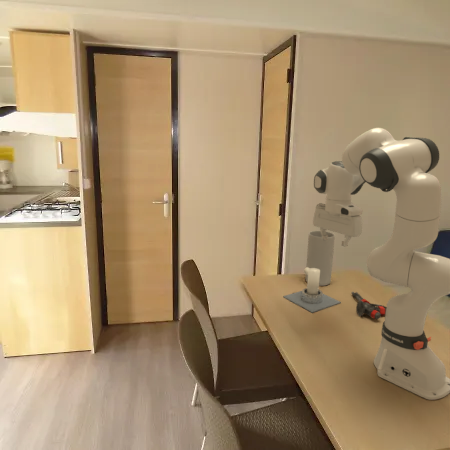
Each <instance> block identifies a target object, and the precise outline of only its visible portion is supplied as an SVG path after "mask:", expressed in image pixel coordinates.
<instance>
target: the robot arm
mask: <svg viewBox="0 0 450 450" xmlns="http://www.w3.org/2000/svg"><path fill="white" fill-rule="evenodd" d="M439 160H440V151H439V148H438V146H437V144H436V143H435V141H433V140H432V139H430V138H426V137H410V136H409V137H407V136H405V137H403V138H402V139H400V140H396V139H395V138H394V136H393V135H392V134H391V133H390V132H389V131H388V130H387V129H385V128H382V127H374V128H371V129H369V130H367V131H365V132H363V133H362V134H360V135H358V136H357V137H355V138H354V139H353V140H352V141H351V142H350V143H348V145H346V147H345V148H344V150H343V152H342V155H341V161H340V160H338V161H337V160H336V161H333V162H331V163H330V164H329V166H328V167H326V168H323V169H320V170H318V171H317V172H316V174H315V175H314V178H313V188H314V189H315V191H316V192H317V193H319V194H321V195H326V198H325V203H322V202H320V203H317V204H316V205H315V211H314V214H313V220H312V225H313V227H316V228H319V231H320V232H321V234H322V240H328V235H326V232H327V231H329V232H332V233H333V232H334V233H337V234H341V235H344V238H345V239H344V240H342V241H341V246H342V247H345V248H346V247H348V245H349V241H350V240H351V239H352V238H357V237H360V236H361V235H362V232H363V218H362V216H361V215H362V214H363V209H362V208H361V207H359V206H357V204H355V203H353V202H352V195H354V196H355V195H357V194H358V193H359V192H360V191H361V189H362V188H363V186H364V184H365V183H367V184H368V185H369V186H371V187H373V188H376V189H380V190H381V191H382V192H384V193H388V192H391V191H392V190H393V191H394V193H395V195H396V204H395V213H394V214H395V217H394V225H393V230H392V234H391V236H390V237H389V238H388V240H387V241H386V242H384V243H383V244H382V245H379V246H376V247H375V248H374V249H372V250H371V251H370V253H369V254H368V256H367V258H366V268H367V272H368V273H369V275H370V276H371V277H373V278H375V279H378V280H379V281H382V282H385V283H388V284H393V285H398V286H402V287H405V288H409V289H411V291H410V292H406V293H402V294H401V293H400V294H396V295H395V296H392V297H390V299H389V300H388V301H387V303H386V306H385V307H386V315H384V321H383V322H382V327H381V340H380V344H379V347H378V350H377V353H376V355H375V357H374V359H373V364H374V366H375V368H376V370H377V376H378V377H379V378H382V379H384V380H386V381H388V382H390V383H391V384H394V385H396V386H398V387H400V388H402V389H405V390H406V391H408V392H410V393H413V394H415V395H417V396H419V397H421V398H424V399H426V400H430V401H431V400H432V401H434V400H440V399H443V398H444V397H446V396H448V395H449V394H450V378H449V377H448V376H447V374H446V365H445V363H444V361H442V360H441V359H440V358H439V356H438V355H436V353H435V352H434V351H433V349H432V348H431V347H430V346H429V344H428V342H431V340H432V336H429V337H426V332H425V329H424V328H425V323H426V320H427V315H428V313H429V310H430V308H432V306H433V304H434V303H435V302H437V301H438V300H439V299H441V298H442V297H446V296H448V295H450V258H448V257H445V256H442V255H439V254H432V253H426V252H421V251H416V250H419V249H423V248H426V247H428V246H430V245H431V244H433V243H434V242H435V241H436V240H437V238H438V235H439V230H440V229H439V227H440V220H441V219H440V218H441V213H442V212H441V211H442V189H441V183H440V180H439V179H438V178H437V176H435V175H433V174H432V173H430V172H431V171H433V170H434V169H435V168H436V167H437V166H438V164H439Z"/></svg>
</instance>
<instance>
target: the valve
mask: <svg viewBox="0 0 450 450" xmlns="http://www.w3.org/2000/svg"><path fill="white" fill-rule="evenodd" d="M351 294H352V296H353V297H354V298H355V299H356V300H357V301H358V302H357V303H356V309H355V310H356V314H357V315H358V317H363V316H364V315H367V316H369V317H371V318H372V319H374V320H379V319H380V318H381V317H385V315H386V307H387V306H385V305H382V304H377V303H371V302H370V301H368V300H367V299H365V298H364V297H362V296H361V295H360V294H359V292H357V291H356V292H354V291H351Z"/></svg>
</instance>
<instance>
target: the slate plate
mask: <svg viewBox="0 0 450 450" xmlns="http://www.w3.org/2000/svg"><path fill="white" fill-rule="evenodd" d="M301 294H302V290H299V291H296V292H293V293H289V294H286V295H283V299H285V300H286V301H287V300H288V301H289V302H290V303H293V304H295V305H297V306H299V307H301V308H302V309H304V310H306V311H308V312H309V313H312V314H313V313H314V314H315V313H316V312H319V311H323V310H325V309H328V308H330V307H335V306H337V305H340V304H341V303H342V302H341V301H339V300H337V299H335V298H333V297H331V296H329V295H327V294H325V293H323V298H322V302H321V303H317V304H311V303H307V302H305V301H303V300H302V299H301Z"/></svg>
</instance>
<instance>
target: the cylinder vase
mask: <svg viewBox="0 0 450 450" xmlns="http://www.w3.org/2000/svg"><path fill="white" fill-rule="evenodd" d="M326 235H328V240H322V234H321V232H320V230H311V231H309V232H308V240H307V255H306V267H309V268H317V269H319V270H320V278H319V287H320V286H321V287H324V286H328V285H329V284H331V282H332V271H333V260H334V248H335V239H336V238H335V237H336V234H335V233H333V232H331V231H326ZM306 267H305V268H306ZM305 282H307V283H308V275H306V274H305Z"/></svg>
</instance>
